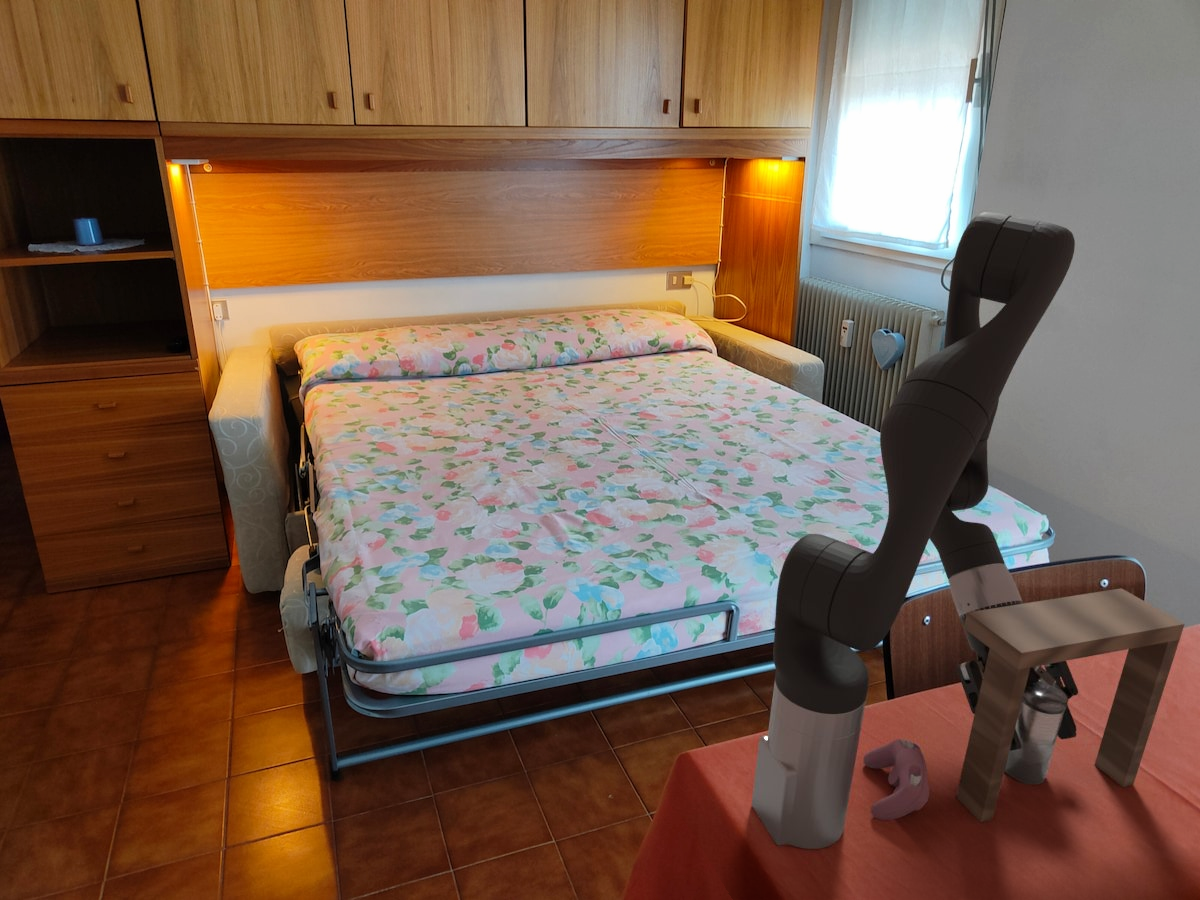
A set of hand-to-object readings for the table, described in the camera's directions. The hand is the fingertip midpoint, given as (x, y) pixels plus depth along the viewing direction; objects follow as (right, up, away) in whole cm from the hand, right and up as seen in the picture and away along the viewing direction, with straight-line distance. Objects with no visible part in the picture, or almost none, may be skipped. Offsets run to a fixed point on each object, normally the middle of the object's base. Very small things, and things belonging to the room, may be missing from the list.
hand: (1041, 743), depth 96 cm
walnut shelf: (0, -5, +2) cm, 5 cm away
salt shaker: (-1, -4, +3) cm, 5 cm away
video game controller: (-18, -6, -1) cm, 19 cm away
